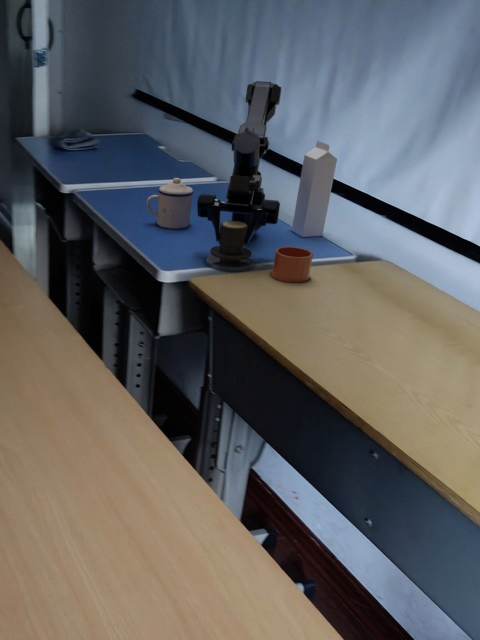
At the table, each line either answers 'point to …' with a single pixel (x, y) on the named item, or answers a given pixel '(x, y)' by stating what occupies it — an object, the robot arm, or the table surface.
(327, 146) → the milk
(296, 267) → the cup
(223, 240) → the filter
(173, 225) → the teacup with lid
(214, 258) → the saucer
